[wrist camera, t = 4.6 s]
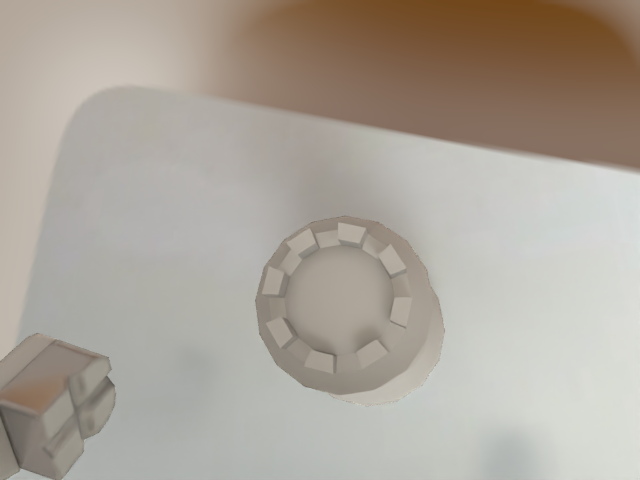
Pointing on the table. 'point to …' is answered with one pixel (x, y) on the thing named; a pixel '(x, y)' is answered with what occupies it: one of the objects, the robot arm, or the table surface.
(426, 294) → the rook chess piece
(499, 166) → the table surface
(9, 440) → the robot arm
